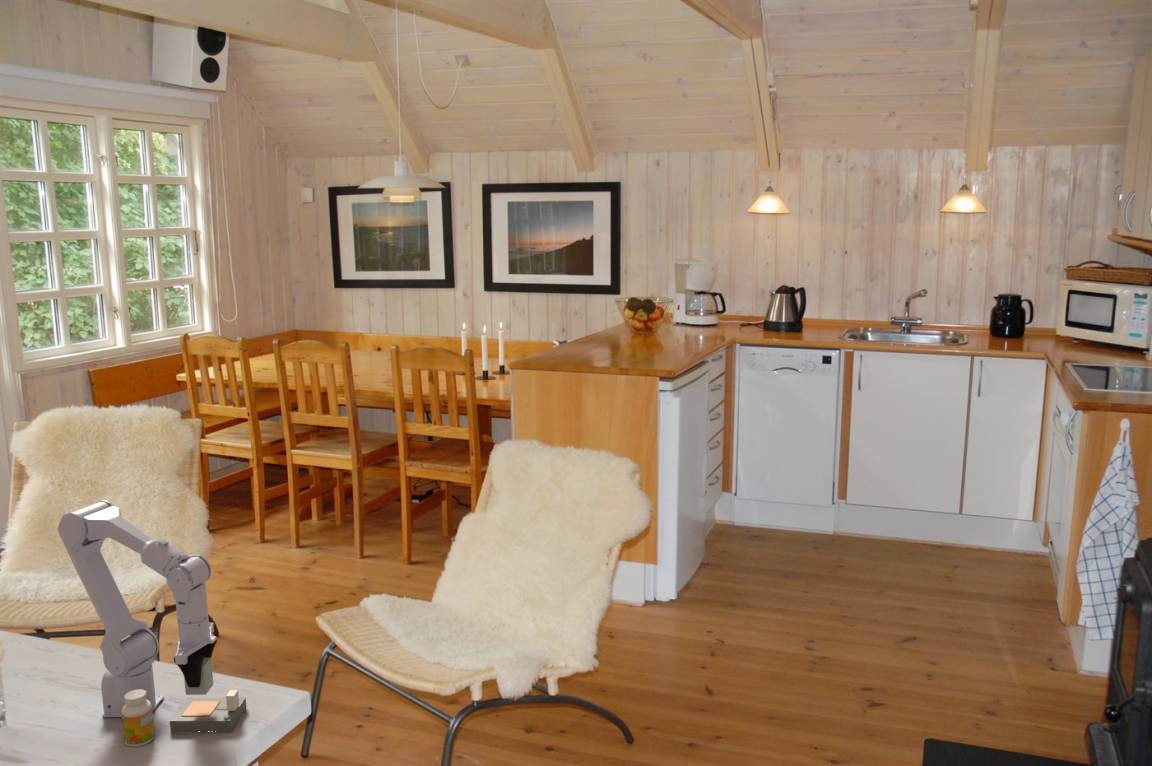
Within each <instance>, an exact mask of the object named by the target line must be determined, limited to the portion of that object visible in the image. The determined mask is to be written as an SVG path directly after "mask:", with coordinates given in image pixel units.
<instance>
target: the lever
mask: <svg viewBox="0 0 1152 766" xmlns="http://www.w3.org/2000/svg"><path fill="white" fill-rule="evenodd" d="M225 698H226V702H227V711H235V710H236V709H237V707H238V706H239V698H240V696H239V689H230V690H229V691H228V693H227V694H226V695H225Z"/></svg>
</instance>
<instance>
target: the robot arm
mask: <svg viewBox="0 0 1152 766" xmlns="http://www.w3.org/2000/svg"><path fill="white" fill-rule="evenodd" d="M57 532H58V534H59V537H60V539H61V540H62V543H63V545H64V546H65V549H66V551H67V553H68V554H67V555H68V556H69V558H70V560H71V563H72V565H73V566H74V568H75V571H76V573H77V575H78V576H79V579H80V581H81V583H82V585H83V587H84V589H85V591H86V593H87V595H88V597H89V599H90V601H91V603H92V606H93V607H94V609H95V612H96V614H97V616H98V618H99V620H100V621H101V624H102V626H103V628H104V630H105V634H104V635H103V638H102V639H101V641H100V644H99V648H100V651H101V654H102V660H103V661H102V662H103V664H104V667H105V669H106V670H105V671H104V673H103V675H102V679H101V683H100V685H101V686H100V689H101V697H102V698H101V699H102V707H103V713H102V714H101V717H102V718H122V708H123V706H124V705H125V702H124V696H125V694H126V693H128V692H130V691H132V690H137V689H143V690H145V691H146V693H147V700H149V701H150V702H151V704H152V712H154V710H155V709H156V708H157V707H158V705H159V704H160V703H161V702H162V701H163V699H164V695H156V690H155V689H156V688H155V680H154V670H153V663H155V656H157V654H158V653H159V651H160V642H159V639H158V637H157V636H156V634H155V633H154V632H153V631H151V629H150V628H149V626H148V624H147V622H146V621H143V620H140V619H136V618H133V616H132V613H131V612H130V610H129V607H128V605H127V603H126V600H125V599H124V597H123V595H122V593H121V591H120V589H119V587H118V585H117V583H116V581H115V578H114V577H113V574H112V573H111V571H110V569H109V566H108V564H107V562H106V560H105V558H104V556H103V554H102V552H101V549H102V546H103V544H104V542H105V541H106V539H108V538H109V539H111V540H112V541H115V542H116V543H119V544H120V545H123V547H126V548H128V549H130V550H132V551H133V552H135V553H137V554H139V555H140V560H141V563H142V564H143V565H145V566H147V568H150V569H151V570H153V571H154V572H156V573H158V574H159V575H160V576H162V577H163V578H165V579H166V583H167V585H168V588H170V590H171V592H172V598H173V599H174V601H175V607H176V609H175V610H176V618H177V628H178V629H177V630H178V638H179V639H178V641H177V642H178V643H177V649H176V650H177V651H176V653H175V654H174V657H173V662H174V664H175V665H177V667H178V668H179V669H180V671H181V672H182V675H183V678H184V677H185V680H186V682H187V685H188V687H199V686H200V682H201V668H202V663H203V660H204V657H211V658H212V656H213V653H214V650H215V647H216V646H217V643H218V639H217V636H215V635H213V633H214V632H215V624H214V622H210V621H209V609H208V598H207V596H208V595H207V585H206V582H207V581H208V580H209V579H210V578H211V575H212V568H211V565H210V563H209V562H208V560H207V559H206V558H204V557H203V556H202V555H200V554H190V553H185V552H183V551H182V550H180V549H178V548H177V547H175V546H173V545H172V544H170V543H169V541H168V540H167V539H165V538H156V539H152V538H150V537H149V536H147V534H145V533H144V532H143V531H141V530H140V529H139V528H137V527H136V526H135V525H133V524H132V523H131V522H130V521H128V520H127V519H126V518H124V517H123V516H122V511H121V509H120V508H119V507H118V506H115V505H114V504H113V503H112V502H111V501H109V500H106V499H102V500H98V501H96V502H95V503H93V504H89V505H87V506H84V507H82V508H79V509H77V510H73V511H71V512H67V513H66V512H65V513H64V514H63V515H62V516H61V519H60V520H59V523H58V526H57Z"/></svg>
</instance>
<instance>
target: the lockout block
mask: <svg viewBox="0 0 1152 766" xmlns="http://www.w3.org/2000/svg"><path fill="white" fill-rule="evenodd" d="M213 676H214V675H213V665H212V657H204V660H203V663H202V668H201V682H200V686H199V687H188V685H187V682H186V680H185V677H184V676H183V680H184V690H185V691H184V692H185V696H187V695H189V696H195V695H196V696H198V695H199V696H204V695H205V696H206V695H207V694H208V692H209V691H210V690H211V688H212V687H213V686H214V677H213Z"/></svg>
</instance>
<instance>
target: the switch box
mask: <svg viewBox="0 0 1152 766" xmlns="http://www.w3.org/2000/svg"><path fill="white" fill-rule="evenodd" d="M246 708H247V697H239V706H238V707H237V709H236V710H235V711H227V702H226V697H187V699H186V700H185V701H184V702H183V704H182V705H181V706H180V707H179V708H178V710H176V713H174V715H173V716H172V718H171V719H170V720H169V728H170V733H171V732H194V733H232V732H233V730H234V729H235V727H236V725H238V723H239V721H240V719H241V718H242V716H243V715H244V713H245V712H246V710H247V709H246ZM244 711H245V712H244ZM242 714H243V715H242ZM240 717H241V718H240ZM238 720H239V721H238ZM198 731H200V732H198ZM208 731H210V732H208ZM211 731H213V732H211ZM215 731H216V732H215ZM231 731H232V732H231Z"/></svg>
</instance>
